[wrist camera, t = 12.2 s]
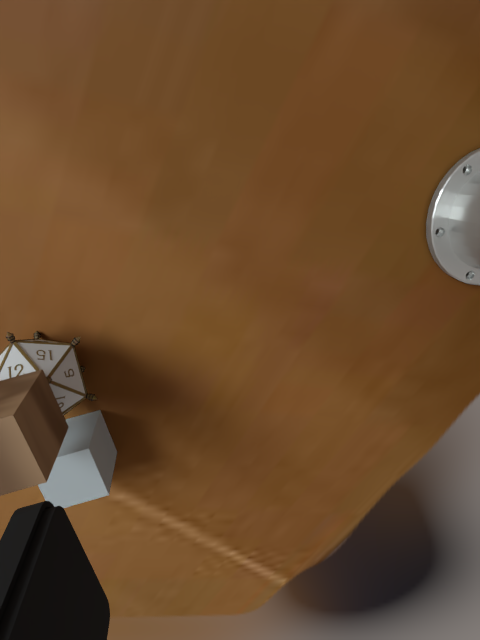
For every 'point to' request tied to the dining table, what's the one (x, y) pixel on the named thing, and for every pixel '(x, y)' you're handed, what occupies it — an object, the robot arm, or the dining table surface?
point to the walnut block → (28, 431)
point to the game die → (47, 367)
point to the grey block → (82, 463)
